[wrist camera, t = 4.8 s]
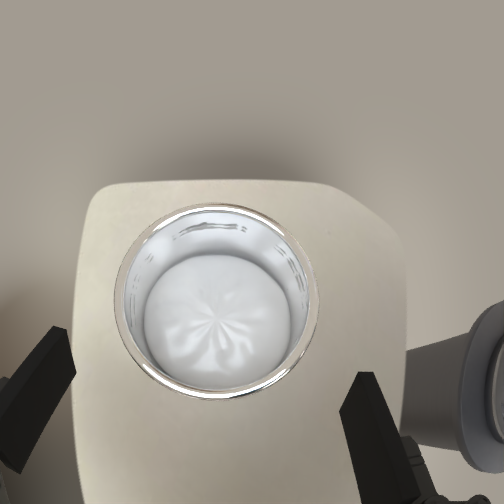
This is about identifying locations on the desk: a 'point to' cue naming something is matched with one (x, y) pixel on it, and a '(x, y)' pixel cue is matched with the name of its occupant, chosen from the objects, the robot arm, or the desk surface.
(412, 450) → the robot arm
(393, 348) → the desk surface
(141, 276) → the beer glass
